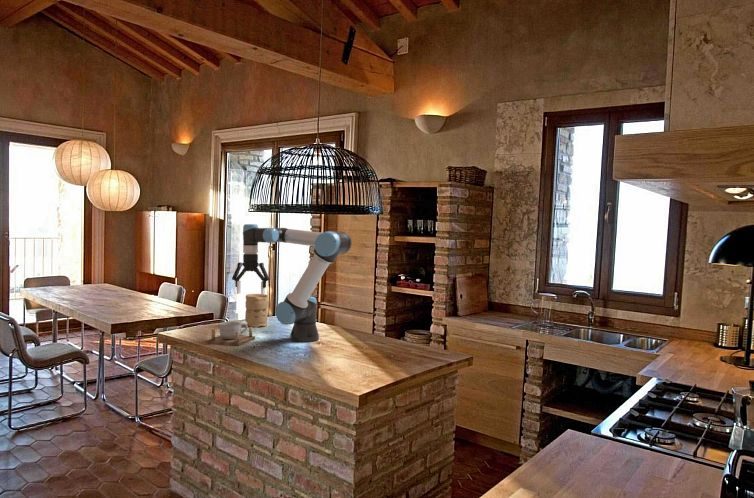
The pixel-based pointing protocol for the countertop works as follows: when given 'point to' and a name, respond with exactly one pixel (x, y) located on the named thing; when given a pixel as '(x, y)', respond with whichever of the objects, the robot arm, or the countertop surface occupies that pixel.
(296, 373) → the countertop surface
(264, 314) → the container
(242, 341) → the rack
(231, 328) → the teacup
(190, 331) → the countertop surface
